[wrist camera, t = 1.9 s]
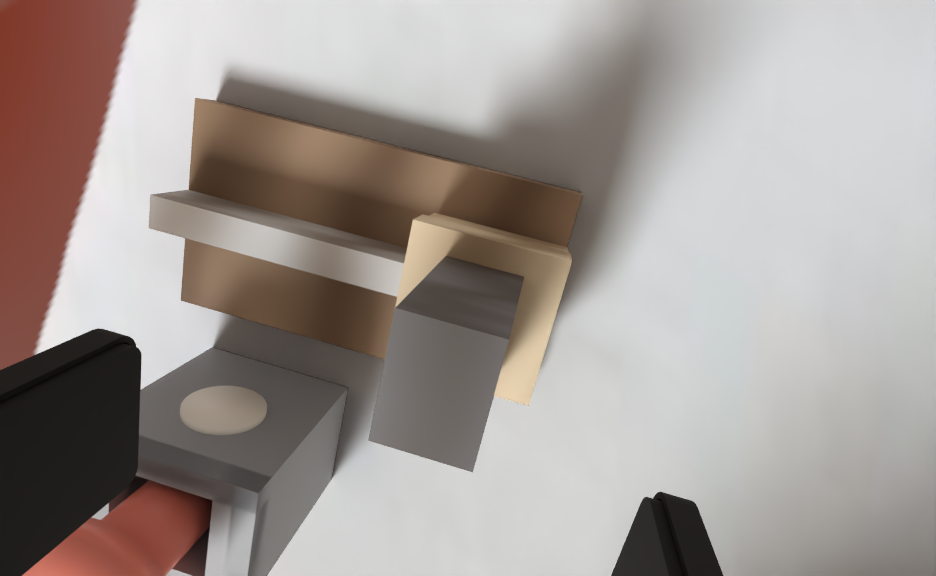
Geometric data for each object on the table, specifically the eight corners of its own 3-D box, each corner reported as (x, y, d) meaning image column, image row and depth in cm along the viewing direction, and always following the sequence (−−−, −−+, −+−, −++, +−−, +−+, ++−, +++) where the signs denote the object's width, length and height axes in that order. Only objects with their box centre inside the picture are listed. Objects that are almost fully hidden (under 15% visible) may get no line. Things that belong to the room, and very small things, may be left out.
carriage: (569, 241, 23) (579, 319, 13) (533, 365, 24) (516, 517, 14) (435, 207, 23) (345, 255, 13) (409, 330, 25) (312, 454, 15)
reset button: (258, 454, 23) (150, 567, 17) (246, 549, 24) (143, 684, 18) (148, 419, 23) (4, 517, 17) (142, 515, 24) (9, 636, 19)
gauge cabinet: (349, 382, 28) (259, 486, 20) (331, 478, 30) (242, 611, 22) (212, 342, 29) (69, 425, 21) (203, 438, 31) (68, 552, 22)
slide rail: (580, 192, 24) (585, 201, 20) (524, 385, 27) (518, 425, 23) (215, 100, 25) (155, 93, 22) (199, 292, 28) (144, 315, 25)
